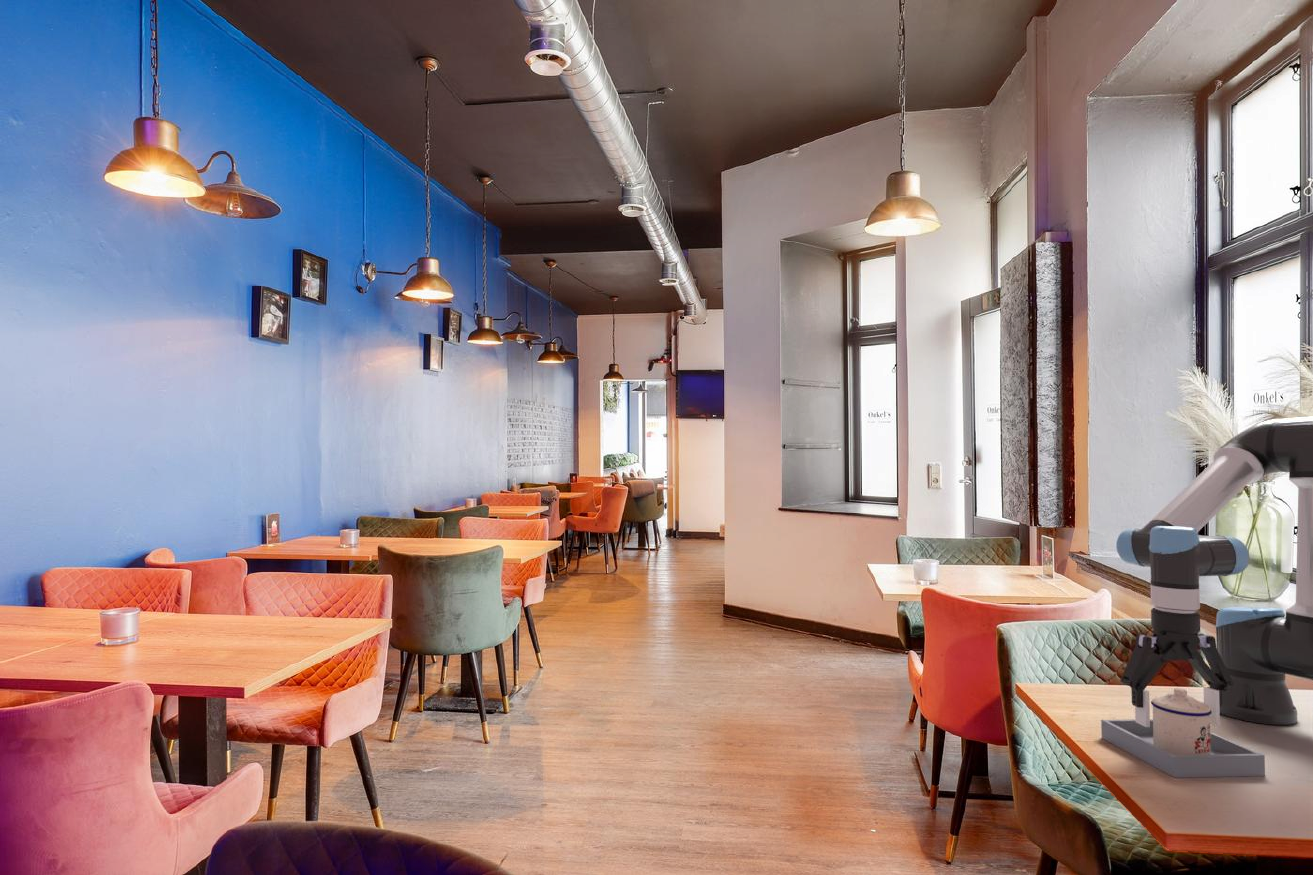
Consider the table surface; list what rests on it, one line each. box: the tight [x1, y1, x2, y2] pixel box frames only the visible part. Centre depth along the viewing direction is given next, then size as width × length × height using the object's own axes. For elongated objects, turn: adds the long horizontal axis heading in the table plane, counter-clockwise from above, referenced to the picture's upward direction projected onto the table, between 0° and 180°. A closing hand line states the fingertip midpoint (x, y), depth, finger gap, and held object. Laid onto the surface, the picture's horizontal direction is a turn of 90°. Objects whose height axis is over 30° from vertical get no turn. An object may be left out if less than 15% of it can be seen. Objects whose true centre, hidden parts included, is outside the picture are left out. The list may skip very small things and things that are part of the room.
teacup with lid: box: [1150, 687, 1212, 755], centre depth 136 cm, size 12×9×12 cm
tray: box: [1100, 718, 1266, 778], centre depth 136 cm, size 17×19×4 cm
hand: (1177, 724), depth 136 cm, fingers open, 13 cm apart
